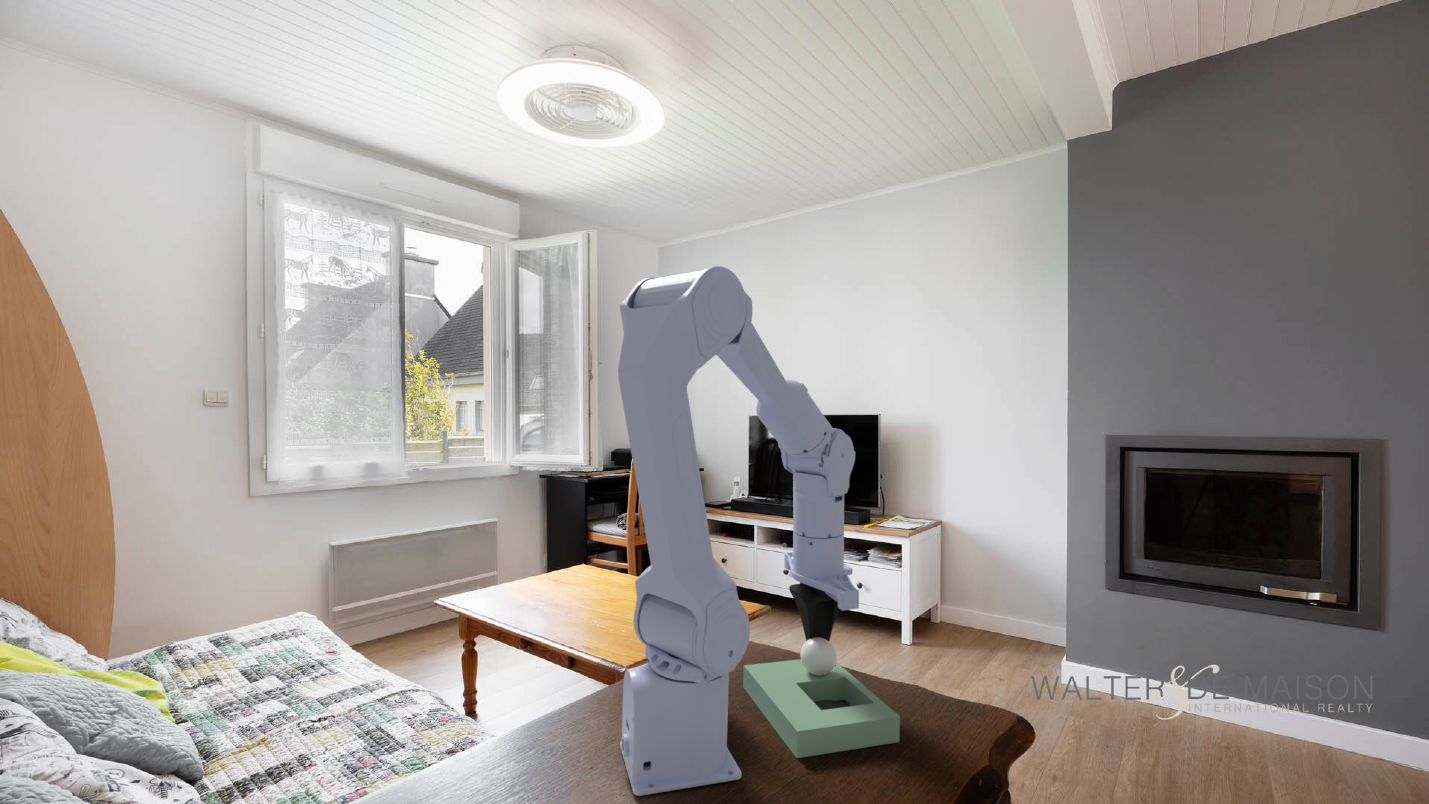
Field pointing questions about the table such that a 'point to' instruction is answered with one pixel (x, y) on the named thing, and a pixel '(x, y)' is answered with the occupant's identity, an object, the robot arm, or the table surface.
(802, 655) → the ball
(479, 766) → the table surface
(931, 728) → the table surface
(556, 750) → the table surface
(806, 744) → the green
